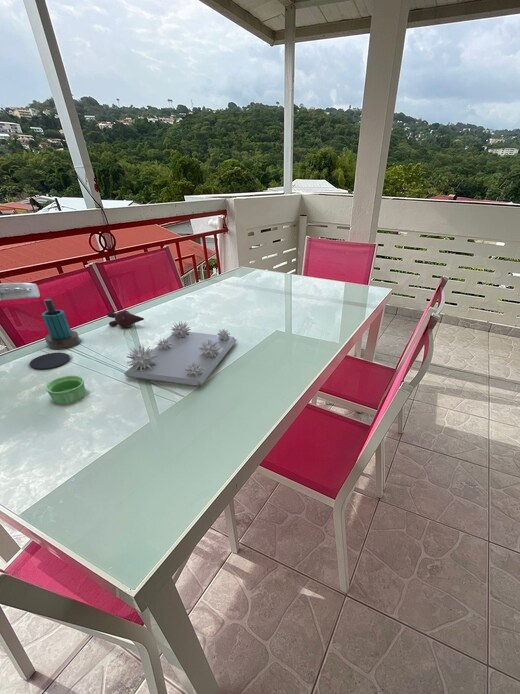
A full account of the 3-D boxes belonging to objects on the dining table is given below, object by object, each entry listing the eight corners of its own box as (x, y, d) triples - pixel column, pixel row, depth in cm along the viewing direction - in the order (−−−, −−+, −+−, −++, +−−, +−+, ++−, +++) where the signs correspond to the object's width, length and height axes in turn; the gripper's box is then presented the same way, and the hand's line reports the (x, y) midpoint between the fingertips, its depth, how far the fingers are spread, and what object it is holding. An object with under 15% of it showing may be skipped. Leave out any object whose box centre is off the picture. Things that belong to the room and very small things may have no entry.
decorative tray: (201, 391, 99) (197, 362, 93) (121, 380, 101) (112, 351, 96) (237, 343, 127) (236, 318, 122) (174, 335, 130) (170, 311, 124)
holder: (42, 349, 115) (22, 304, 106) (56, 337, 123) (39, 294, 114) (73, 349, 116) (56, 305, 107) (85, 337, 124) (70, 295, 115)
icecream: (146, 309, 135) (111, 309, 136) (137, 310, 128) (100, 311, 129) (149, 326, 137) (115, 326, 138) (140, 328, 130) (104, 329, 131)
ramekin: (66, 386, 97) (60, 373, 94) (95, 389, 96) (90, 377, 94) (43, 404, 90) (36, 390, 87) (74, 407, 89) (69, 394, 87)
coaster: (22, 370, 103) (22, 368, 103) (41, 354, 112) (40, 352, 112) (60, 369, 105) (60, 368, 104) (76, 354, 114) (75, 352, 113)
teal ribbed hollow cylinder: (47, 339, 115) (37, 316, 110) (56, 332, 120) (47, 309, 115) (66, 339, 116) (58, 316, 111) (75, 332, 121) (67, 309, 116)
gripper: (21, 275, 80) (45, 279, 93) (-83, 280, 75) (-43, 283, 88) (29, 302, 82) (51, 302, 95) (-72, 308, 77) (-34, 308, 90)
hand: (6, 293), depth 92 cm, fingers open, 8 cm apart
